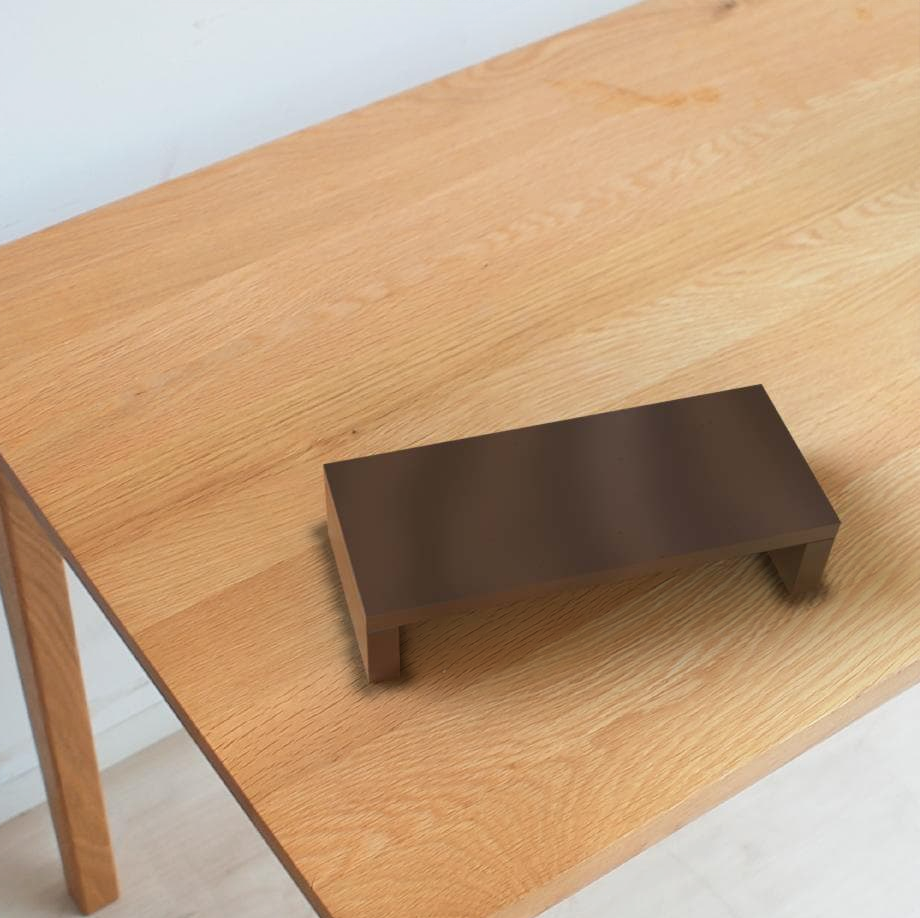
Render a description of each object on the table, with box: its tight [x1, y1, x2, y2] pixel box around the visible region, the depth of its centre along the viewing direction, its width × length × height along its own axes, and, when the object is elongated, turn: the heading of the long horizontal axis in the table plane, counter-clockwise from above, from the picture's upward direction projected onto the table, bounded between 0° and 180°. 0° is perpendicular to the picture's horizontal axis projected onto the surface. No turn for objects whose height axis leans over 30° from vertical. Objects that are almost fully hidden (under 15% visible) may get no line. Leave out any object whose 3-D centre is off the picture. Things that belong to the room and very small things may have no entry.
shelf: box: [322, 383, 842, 684], centre depth 75 cm, size 24×10×6 cm, turn 104°
